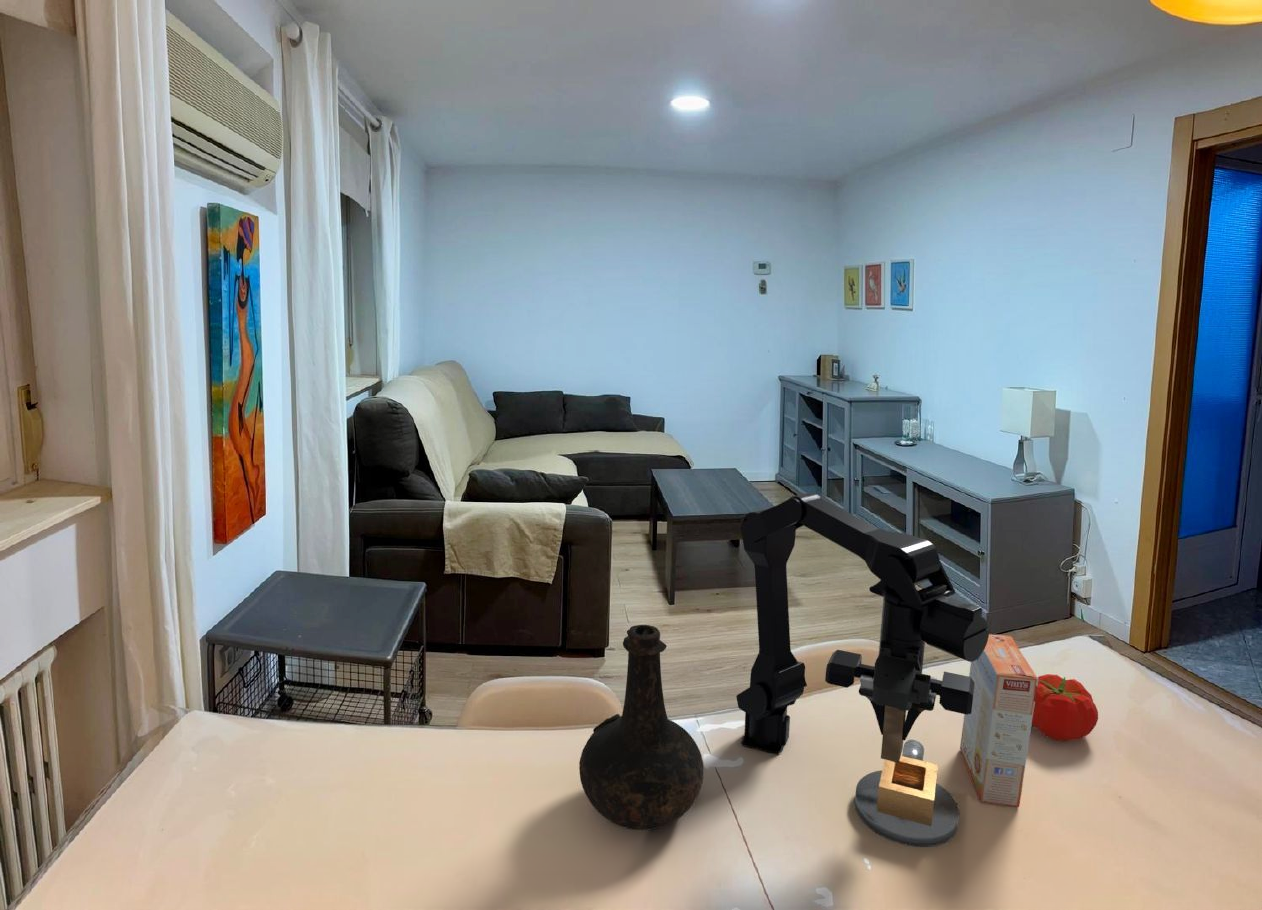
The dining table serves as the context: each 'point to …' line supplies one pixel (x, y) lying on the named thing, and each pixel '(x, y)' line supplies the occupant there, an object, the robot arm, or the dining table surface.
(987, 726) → the cracker box
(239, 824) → the dining table surface
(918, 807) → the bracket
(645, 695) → the glass bottle
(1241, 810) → the dining table surface
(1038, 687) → the tomato
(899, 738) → the block
